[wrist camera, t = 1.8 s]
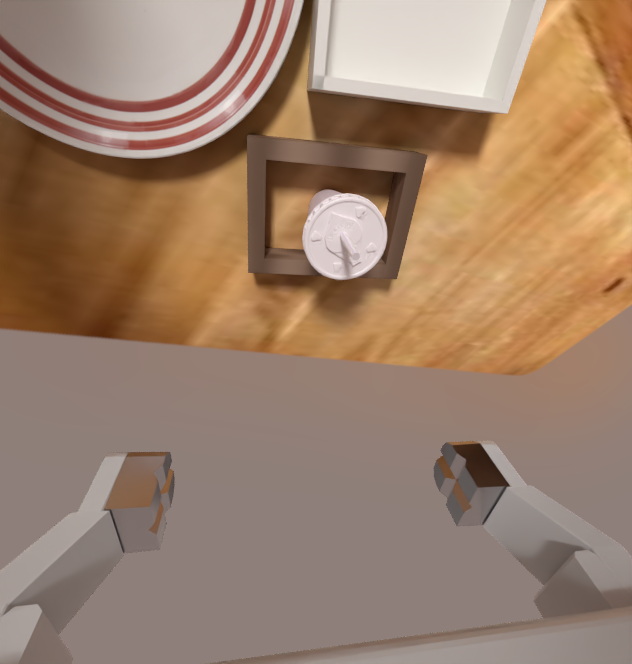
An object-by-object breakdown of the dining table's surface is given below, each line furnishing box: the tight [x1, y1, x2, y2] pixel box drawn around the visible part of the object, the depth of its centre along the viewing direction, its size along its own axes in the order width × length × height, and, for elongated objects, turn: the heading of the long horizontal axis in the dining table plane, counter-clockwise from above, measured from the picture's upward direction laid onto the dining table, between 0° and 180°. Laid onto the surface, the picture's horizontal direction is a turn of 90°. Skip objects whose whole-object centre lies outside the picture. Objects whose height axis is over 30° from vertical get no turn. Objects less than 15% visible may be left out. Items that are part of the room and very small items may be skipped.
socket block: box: [247, 134, 427, 279], centre depth 32 cm, size 15×11×3 cm
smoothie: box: [302, 189, 387, 280], centre depth 27 cm, size 6×6×14 cm
